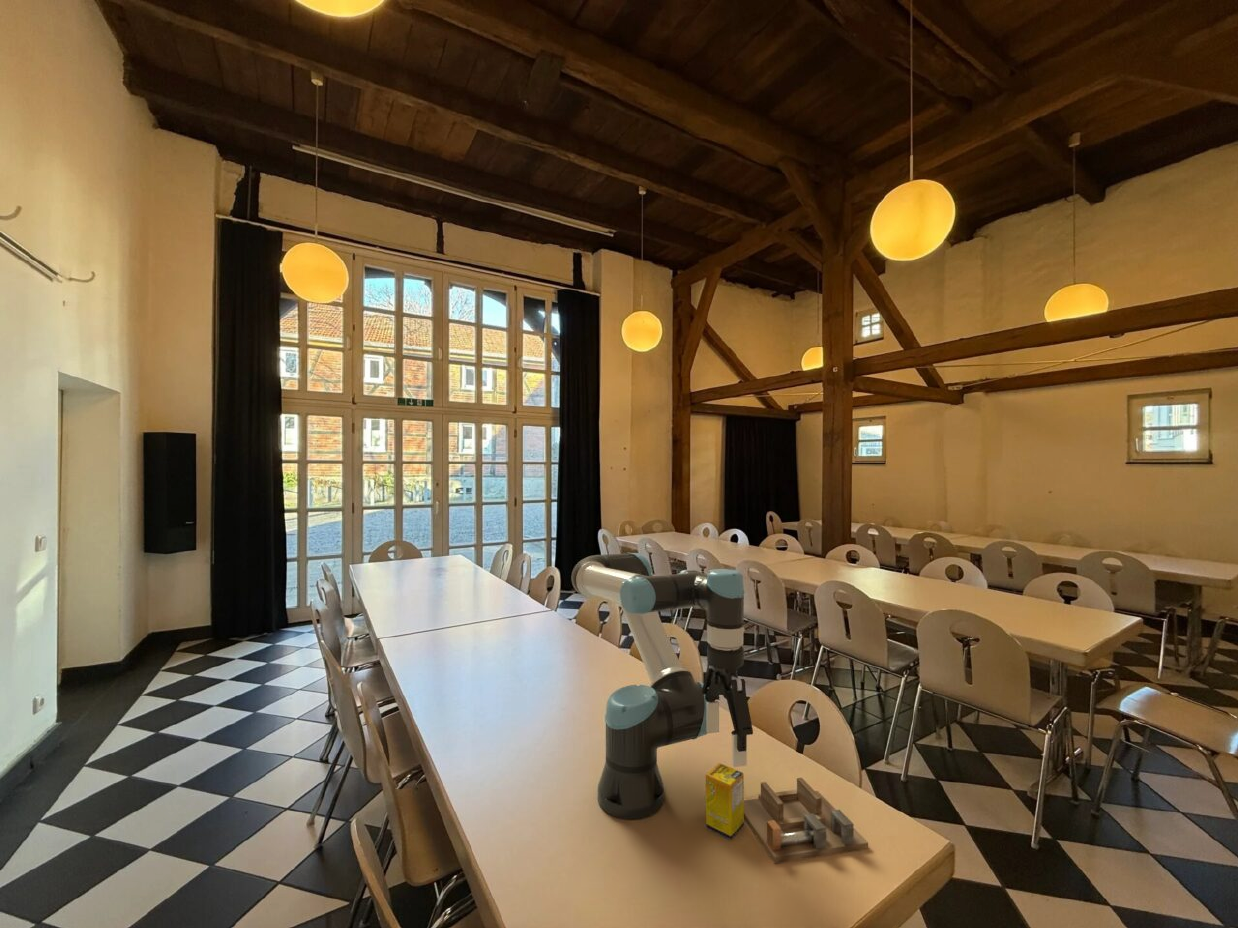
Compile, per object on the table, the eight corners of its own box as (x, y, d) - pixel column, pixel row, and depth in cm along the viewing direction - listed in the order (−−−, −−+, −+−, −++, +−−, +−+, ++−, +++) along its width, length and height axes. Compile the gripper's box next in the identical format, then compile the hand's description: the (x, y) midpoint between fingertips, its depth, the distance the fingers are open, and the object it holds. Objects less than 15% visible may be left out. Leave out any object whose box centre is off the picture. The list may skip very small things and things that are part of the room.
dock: (774, 863, 96) (774, 832, 97) (735, 806, 113) (736, 780, 113) (868, 848, 100) (868, 819, 101) (817, 795, 117) (817, 770, 117)
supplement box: (718, 813, 111) (718, 761, 111) (744, 825, 107) (744, 771, 107) (704, 827, 106) (704, 773, 107) (731, 840, 102) (731, 784, 103)
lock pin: (773, 850, 98) (773, 829, 98) (766, 841, 100) (766, 821, 100) (827, 842, 100) (827, 821, 100) (820, 833, 102) (820, 813, 103)
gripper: (771, 664, 96) (771, 779, 96) (718, 627, 121) (718, 718, 120) (733, 667, 95) (733, 784, 94) (688, 628, 119) (688, 721, 118)
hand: (725, 747), depth 107 cm, fingers open, 13 cm apart
